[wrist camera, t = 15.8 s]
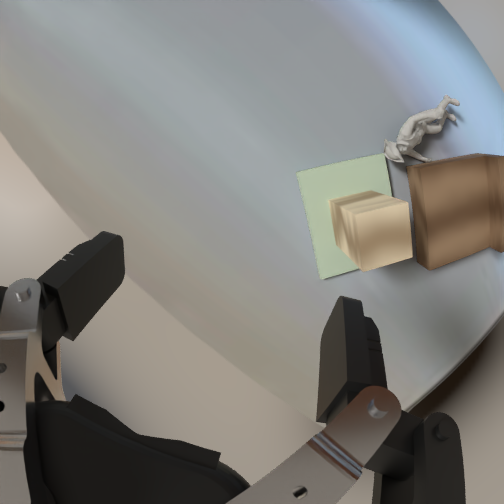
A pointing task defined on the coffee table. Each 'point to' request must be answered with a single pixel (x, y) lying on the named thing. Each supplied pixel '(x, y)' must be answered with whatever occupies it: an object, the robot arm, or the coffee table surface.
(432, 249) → the walnut ledge
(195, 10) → the coffee table surface
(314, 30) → the coffee table surface
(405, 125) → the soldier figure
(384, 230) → the birch block
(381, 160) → the pad
